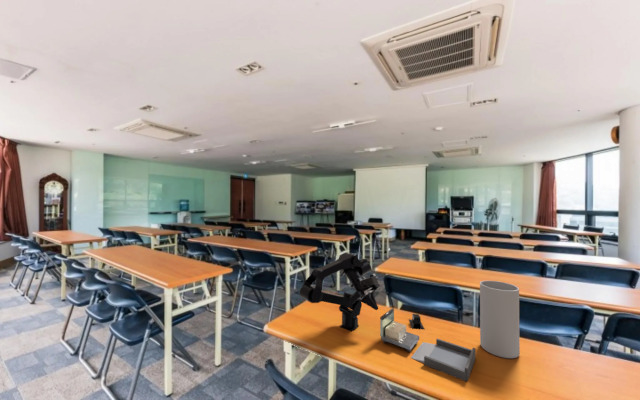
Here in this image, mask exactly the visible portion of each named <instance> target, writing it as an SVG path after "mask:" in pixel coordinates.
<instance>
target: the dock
mask: <svg viewBox="0 0 640 400" xmlns="http://www.w3.org/2000/svg"><path fill="white" fill-rule="evenodd" d="M435 342H436V343H430V342H426V341H425V342H424V341H423V342H422V343H421V344H420V345H419V346H418V348H417V349H416V350H415V352H413V354H412V355H411V357H410V359H412V360H414V361H418V362H420V363H422V364H423V365H424V366H426V367H428V368H431V369H434V370H436V371H438V372H441V373H444V374H447V375H449V376H452V377H453V378H456V379H458V380H461V381H464V382H466V381H467V382H468V381H469V378H470V375H471V372H472V370H473V369H474V368H473V367H474V365H475V362H476V348H475V347H472V348H468V347H464V346H461V345H459V344H456V343H452V342H449V341H446V340H442V339H441V338H436V340H435Z"/></svg>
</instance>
